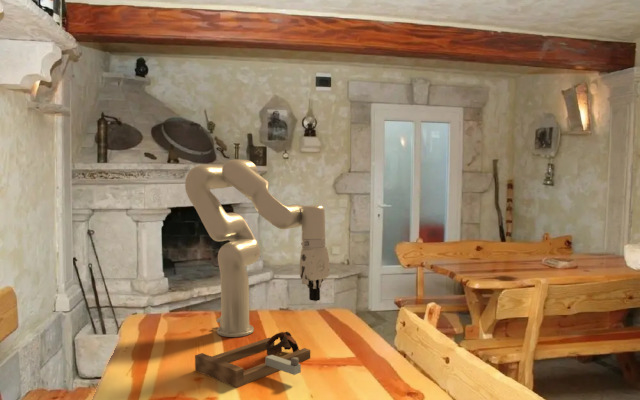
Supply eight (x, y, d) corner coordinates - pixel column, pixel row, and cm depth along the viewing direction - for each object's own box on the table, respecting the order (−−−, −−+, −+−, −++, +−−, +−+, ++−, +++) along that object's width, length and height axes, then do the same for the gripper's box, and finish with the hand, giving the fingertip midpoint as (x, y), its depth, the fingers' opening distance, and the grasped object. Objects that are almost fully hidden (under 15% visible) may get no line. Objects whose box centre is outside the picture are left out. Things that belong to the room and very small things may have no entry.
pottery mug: (301, 363, 155) (287, 341, 153) (273, 375, 156) (259, 354, 154) (304, 340, 166) (292, 320, 164) (278, 352, 168) (265, 331, 166)
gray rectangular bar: (265, 364, 145) (265, 351, 145) (271, 362, 147) (271, 349, 146) (294, 375, 138) (294, 360, 137) (300, 372, 139) (300, 358, 139)
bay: (195, 370, 148) (195, 355, 148) (269, 345, 170) (269, 331, 169) (236, 387, 136) (236, 370, 136) (310, 358, 158) (310, 343, 158)
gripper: (306, 247, 162) (307, 306, 163) (337, 242, 174) (338, 297, 175) (289, 245, 167) (290, 302, 168) (320, 240, 179) (321, 294, 179)
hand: (314, 299), depth 171 cm, fingers closed
